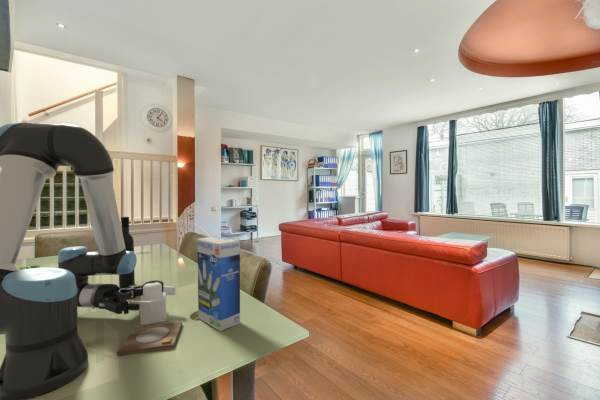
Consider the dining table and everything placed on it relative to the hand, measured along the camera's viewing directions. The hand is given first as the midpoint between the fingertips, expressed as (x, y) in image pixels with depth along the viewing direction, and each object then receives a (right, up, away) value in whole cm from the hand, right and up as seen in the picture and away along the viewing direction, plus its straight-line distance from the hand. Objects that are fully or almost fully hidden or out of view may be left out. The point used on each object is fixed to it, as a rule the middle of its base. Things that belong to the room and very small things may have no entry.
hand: (163, 297), depth 88 cm
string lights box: (+18, -7, -1) cm, 19 cm away
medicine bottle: (-4, -7, +1) cm, 8 cm away
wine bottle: (-32, -6, +33) cm, 46 cm away
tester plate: (+2, -7, -11) cm, 14 cm away
